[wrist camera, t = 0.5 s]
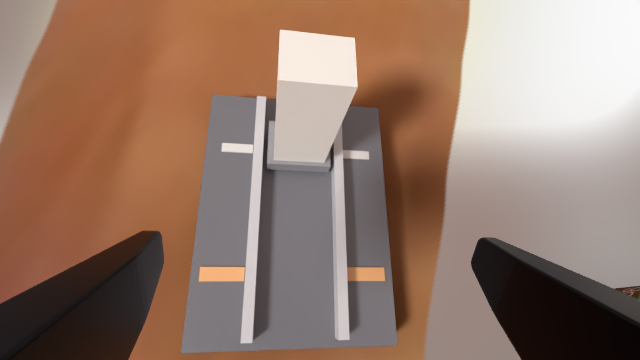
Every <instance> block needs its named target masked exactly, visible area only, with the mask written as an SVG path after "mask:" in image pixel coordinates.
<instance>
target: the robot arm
mask: <svg viewBox="0 0 640 360" xmlns="http://www.w3.org/2000/svg"><path fill="white" fill-rule="evenodd" d="M163 264H164V253H163V244H162V236H161V233H160V232H159V231H141V232H139V233H137V234H135V235H133V236H131V237H129V238H128V239H126V240H124V241H122V242H120V243H118V244H116V245H114V246H112V247H110V248H108V249H106V250H104V251H102V252H100V253H98V254H96V255H94V256H92V257H90V258H88V259H87V260H85V261H83V262H81V263H79V264H77V265H75V266H73V267H71V268H69V269H67V270H65V271H63V272H61V273H59V274H57V275H55V276H53V277H51V278H49V279H48V280H46V281H44V282H42V283H40V284H38V285H36V286H34V287H32V288H30V289H28V290H26V291H24V292H22V293H20V294H18V295H16V296H14V297H12V298H10V299H8V300H7V301H5V302H3V303H1V304H0V360H128V359H129V357H130V354H131V352H132V350H133V348H134V346H135V343H136V341H137V339H138V337H139V335H140V332H141V330H142V328H143V325H144V323H145V321H146V318H147V315H148V312H149V309H150V306H151V303H152V300H153V296H154V293H155V290H156V287H157V284H158V281H159V278H160V274H161V271H162V268H163ZM471 266H472V269H473V271H474V273H475V276H476V278H477V280H478V282H479V284H480V286H481V288H482V290H483V292H484V294H485V296H486V298H487V300H488V303H489V305H490V307H491V308H492V311H493V312H494V314H495V316H496V318H497V320H498V321H499V323H500V325H501V327H502V328H503V330H504V331H505V333H506V334H507V336H508V338H509V340H510V341H511V343H512V345H513V346H514V348H515V350H516V351H517V353H518V355H519V356H520V358H521V360H640V301H639V300H638V299H636V298H634V297H631V296H629V295H627V294H624V293H622V292H620V291H617V290H615V289H613V288H610V287H608V286H606V285H603V284H601V283H599V282H596V281H594V280H592V279H589V278H587V277H585V276H582V275H580V274H577V273H575V272H573V271H571V270H568V269H566V268H563V267H561V266H559V265H557V264H554V263H552V262H550V261H547V260H545V259H543V258H540V257H538V256H536V255H534V254H531V253H529V252H527V251H524V250H522V249H520V248H517V247H515V246H513V245H510V244H508V243H506V242H503V241H501V240H498V239H496V238H481V239H479V240H478V242H477V245H476V248H475V251H474V254H473V257H472V260H471Z"/></svg>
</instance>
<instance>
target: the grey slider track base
mask: <svg viewBox="0 0 640 360" xmlns="http://www.w3.org/2000/svg"><path fill="white" fill-rule="evenodd" d="M275 119H276V100H274V99H266V97H263V96H257V98H250V97H237V96H225V95H212V103H211V111H210V119H209V128H208V136H207V144H206V152H205V160H204V169H203V177H202V185H201V193H200V201H199V209H198V218H197V226H196V234H195V242H194V250H193V259H192V267H191V275H190V283H189V291H188V299H187V308H186V316H185V324H184V332H183V340H182V349H181V353H199V352H228V351H256V350H285V349H313V348H342V347H370V346H397V333H396V321H395V308H394V296H393V284H392V271H391V259H390V246H389V234H388V222H387V209H386V197H385V184H384V172H383V160H382V147H381V135H380V122H379V110H378V108H373V107H361V106H349V108H348V110H347V112H346V115H345V117H344V119H343V121H342V124H341V126H340V128H339V130H338V133H337V135H336V137H335V140H334V142H333V144H332V146H331V149H330V165H331V167H330V169H329V171H328V172H312V171H291V170H270V169H267V153H268V133H269V121H275Z"/></svg>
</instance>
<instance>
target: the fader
mask: <svg viewBox="0 0 640 360" xmlns="http://www.w3.org/2000/svg"><path fill="white" fill-rule="evenodd" d="M357 87H358V86H357V69H356V51H355V38H349V37H340V36H331V35H323V34H314V33H305V32H296V31H288V30H280V40H279V60H278V79H277V99H276V119H275V121H269V133H268V153H267V169H270V170H291V171H312V172H328V171H329V169H330V167H331V165H330V149H331V146H332V144H333V142H334V140H335V137H336V135H337V133H338V130H339V128H340V126H341V124H342V121H343V119H344V117H345V115H346V112H347V110H348V108H349V105H350V103H351V101H352V99H353V96H354V94H355V92H356V89H357Z"/></svg>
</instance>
